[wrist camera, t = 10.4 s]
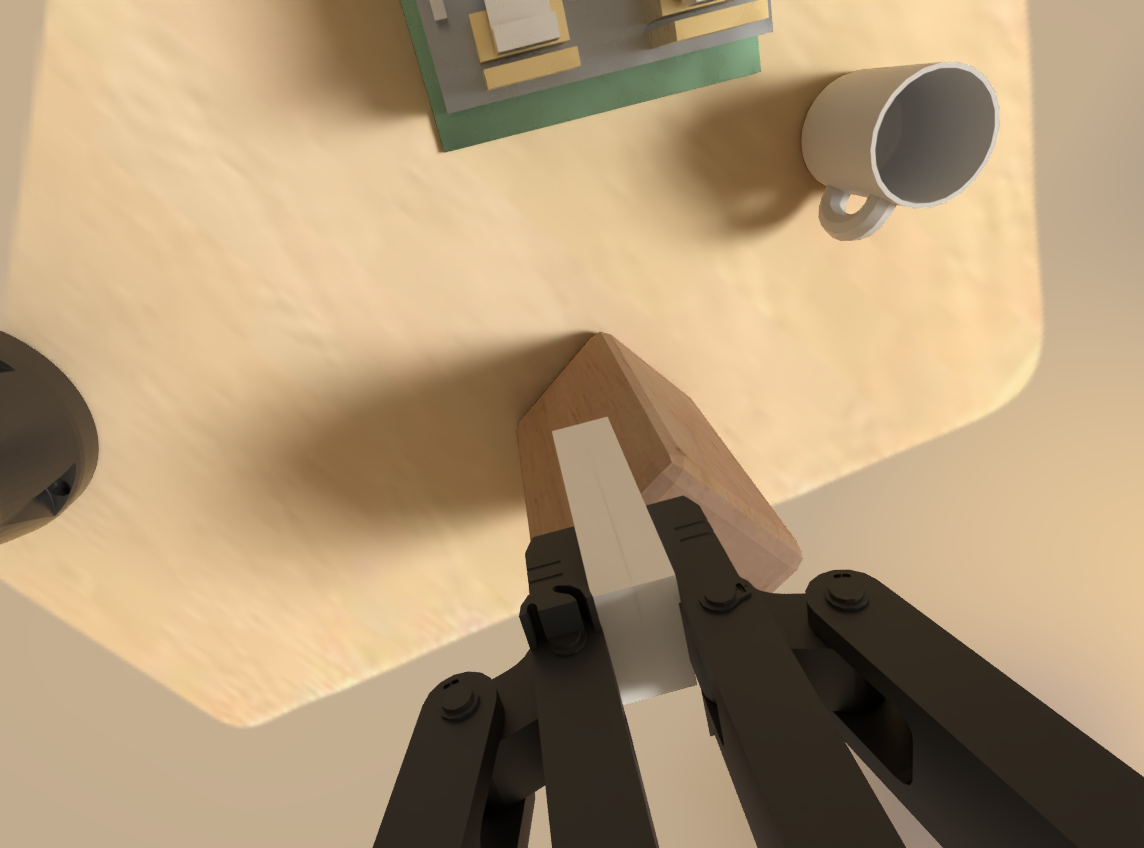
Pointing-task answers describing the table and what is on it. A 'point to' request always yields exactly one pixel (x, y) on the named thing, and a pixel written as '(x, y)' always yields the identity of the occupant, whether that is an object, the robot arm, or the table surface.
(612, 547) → the robot arm
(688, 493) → the wooden block
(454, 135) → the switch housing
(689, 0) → the silver long flat bar
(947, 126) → the cup
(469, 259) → the table surface
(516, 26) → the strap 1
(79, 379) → the table surface
